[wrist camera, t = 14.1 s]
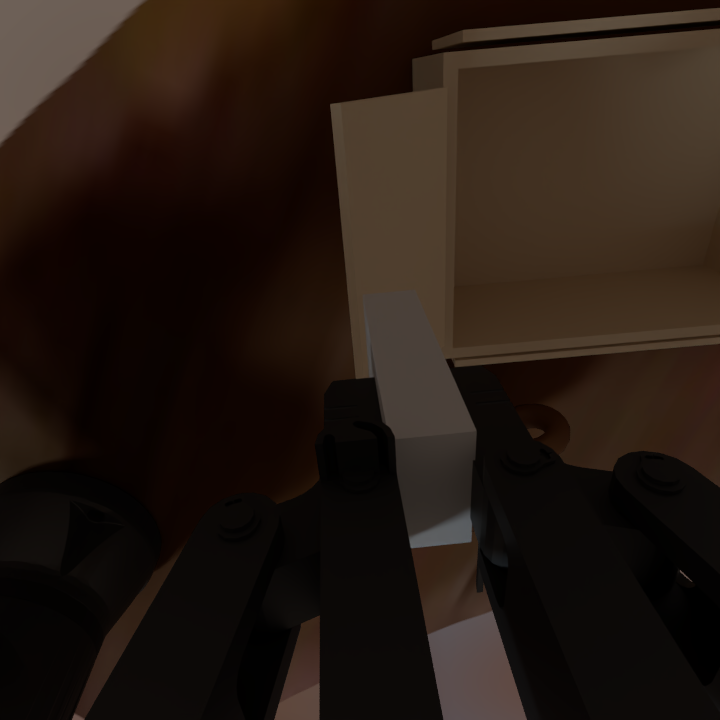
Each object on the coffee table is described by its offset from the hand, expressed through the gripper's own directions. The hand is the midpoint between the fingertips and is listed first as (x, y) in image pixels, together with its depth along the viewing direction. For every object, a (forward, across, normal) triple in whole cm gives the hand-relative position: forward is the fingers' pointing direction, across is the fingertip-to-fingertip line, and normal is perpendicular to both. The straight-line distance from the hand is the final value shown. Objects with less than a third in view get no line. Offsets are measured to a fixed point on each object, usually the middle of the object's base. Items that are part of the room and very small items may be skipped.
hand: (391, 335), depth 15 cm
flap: (+6, +1, 0) cm, 7 cm away
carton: (+19, +14, 0) cm, 23 cm away
